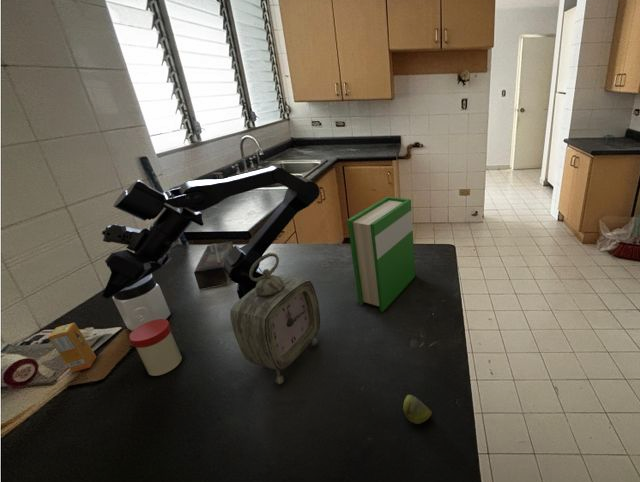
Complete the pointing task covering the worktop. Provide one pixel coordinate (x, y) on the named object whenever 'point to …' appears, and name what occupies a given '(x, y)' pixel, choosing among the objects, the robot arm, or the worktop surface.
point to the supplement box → (72, 347)
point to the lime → (415, 410)
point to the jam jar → (160, 356)
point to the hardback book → (382, 250)
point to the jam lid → (150, 333)
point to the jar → (141, 303)
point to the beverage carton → (213, 266)
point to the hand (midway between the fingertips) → (115, 291)
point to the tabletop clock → (276, 319)
